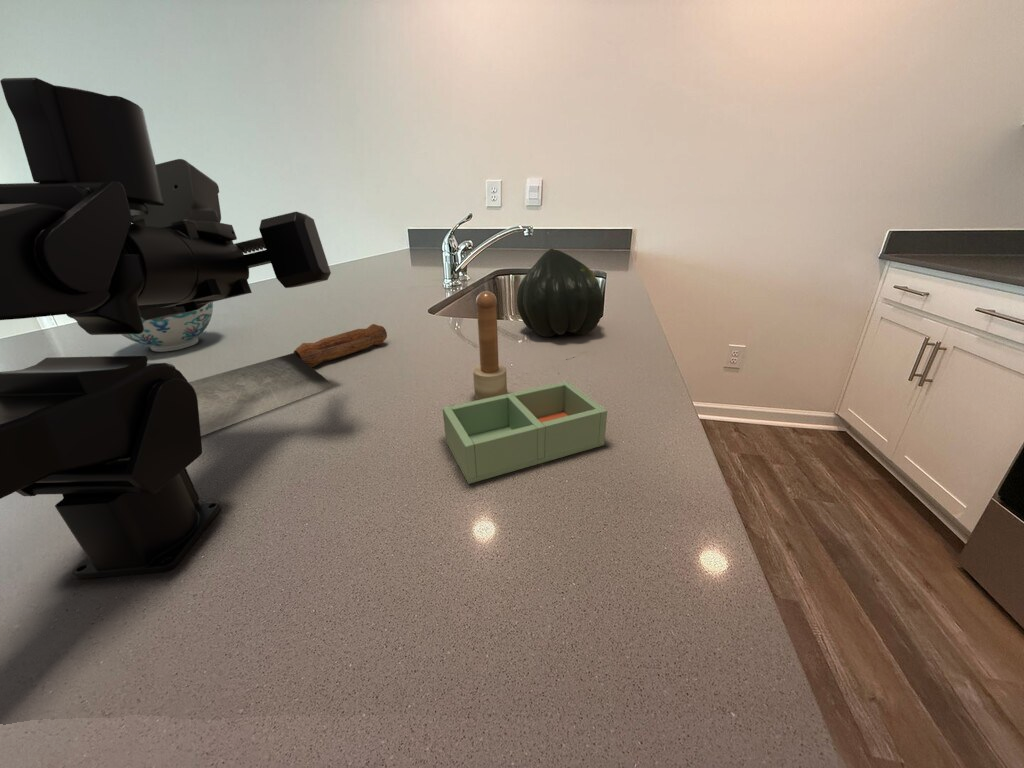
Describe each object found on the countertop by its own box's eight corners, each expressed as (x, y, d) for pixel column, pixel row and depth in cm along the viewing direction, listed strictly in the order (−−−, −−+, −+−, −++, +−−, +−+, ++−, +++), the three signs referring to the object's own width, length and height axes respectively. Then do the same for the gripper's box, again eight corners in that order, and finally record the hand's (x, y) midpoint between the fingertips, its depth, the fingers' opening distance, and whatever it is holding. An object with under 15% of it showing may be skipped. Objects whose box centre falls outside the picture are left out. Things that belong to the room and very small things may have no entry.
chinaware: (148, 366, 63) (126, 318, 59) (101, 352, 69) (80, 308, 65) (243, 337, 75) (230, 296, 71) (196, 328, 81) (182, 289, 78)
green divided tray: (468, 484, 36) (465, 446, 34) (445, 441, 42) (442, 407, 40) (604, 445, 41) (607, 410, 39) (566, 411, 47) (567, 380, 46)
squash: (607, 317, 62) (604, 234, 67) (510, 320, 64) (513, 239, 68) (600, 351, 76) (597, 279, 80) (520, 352, 78) (522, 282, 82)
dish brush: (508, 405, 49) (505, 294, 43) (475, 407, 49) (467, 296, 43) (505, 390, 53) (502, 286, 47) (474, 392, 52) (467, 288, 47)
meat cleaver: (165, 450, 42) (150, 416, 40) (136, 417, 48) (121, 386, 46) (419, 355, 66) (416, 332, 64) (377, 342, 72) (374, 320, 70)
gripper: (233, 122, 29) (328, 175, 44) (-4, 183, 30) (168, 214, 45) (288, 279, 32) (359, 278, 47) (69, 330, 33) (208, 313, 48)
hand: (274, 269), depth 47 cm, fingers open, 9 cm apart
